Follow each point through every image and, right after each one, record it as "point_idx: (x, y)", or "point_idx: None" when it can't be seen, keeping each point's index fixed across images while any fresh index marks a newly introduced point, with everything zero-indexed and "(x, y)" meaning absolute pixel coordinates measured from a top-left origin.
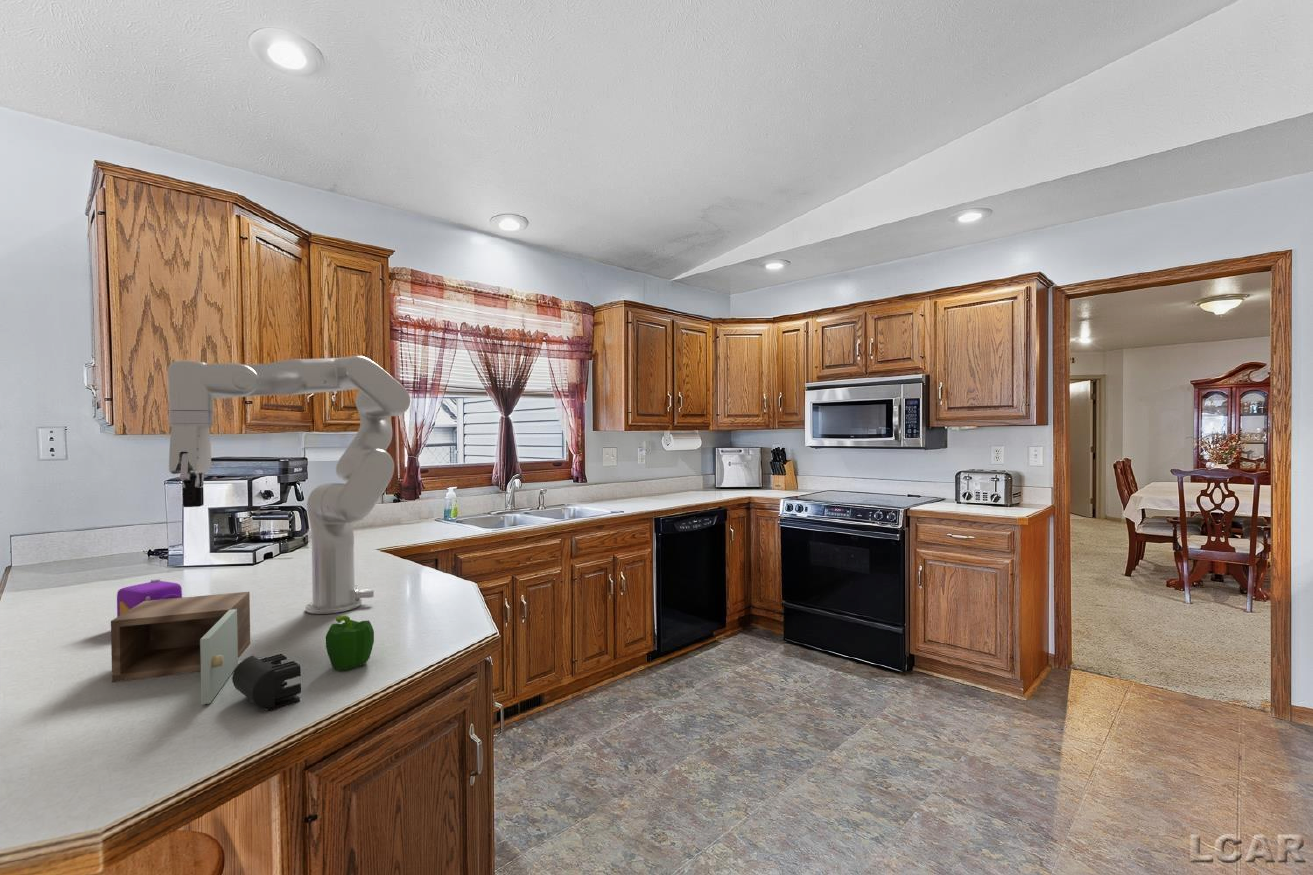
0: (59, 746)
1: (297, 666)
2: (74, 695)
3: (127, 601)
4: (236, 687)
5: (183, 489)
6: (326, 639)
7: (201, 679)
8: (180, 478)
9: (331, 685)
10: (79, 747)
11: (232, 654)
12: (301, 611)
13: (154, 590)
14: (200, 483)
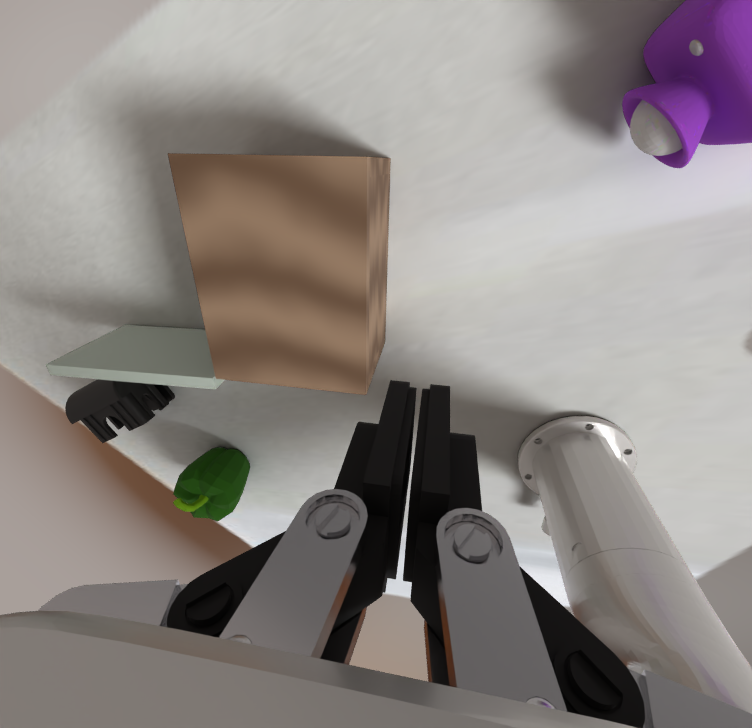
0: (28, 191)
1: (100, 440)
2: (192, 113)
3: None
4: None
5: (368, 478)
6: (187, 469)
7: (98, 338)
8: (50, 600)
9: (173, 441)
10: (28, 218)
11: None
12: (585, 407)
13: (732, 58)
14: (426, 627)
